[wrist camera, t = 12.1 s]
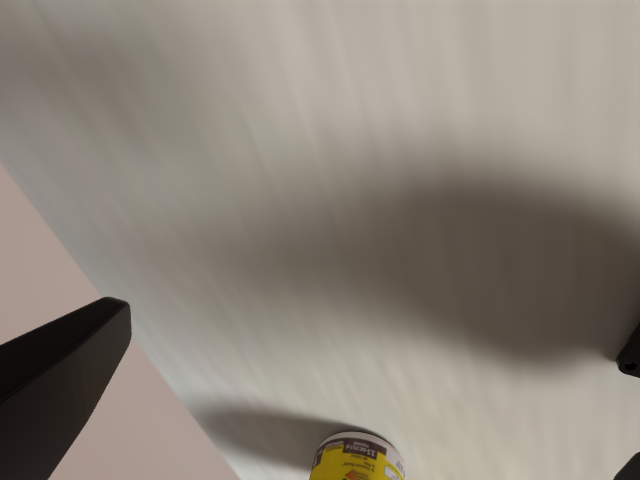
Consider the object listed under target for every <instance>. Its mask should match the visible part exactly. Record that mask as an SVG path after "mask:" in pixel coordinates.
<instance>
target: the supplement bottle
mask: <svg viewBox="0 0 640 480" xmlns="http://www.w3.org/2000/svg"><path fill="white" fill-rule="evenodd" d="M405 479H406V469H405V464H404V461H403V459H402V457H401V456H400V454H399V453H398V452H397V450H396V449H395V448H394V447H392V446H391V445H390V444H389V443H387V442H386V441H384V440H382V439H380V438H378V437H376V436H373V435H370V434H366V433H361V432H342V433H338V434H335V435H332V436H330V437H328V438H327V439H326V440H324V441H323V442H322V443H321V445H320V446H319V447H318V449H317V452H316V455H315V458H314V463H313V467H312V470H311V474H310V478H309V480H405Z"/></svg>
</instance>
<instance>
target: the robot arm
mask: <svg viewBox="0 0 640 480" xmlns="http://www.w3.org/2000/svg"><path fill="white" fill-rule="evenodd" d="M131 334H132V332H131V312H130V305H129V304H128V302H126V301H123V300H120V299H116V298H113V297H103V298H101V299H99V300H97V301H95V302H92V303H90V304H88V305H86V306H84V307H81V308H79V309H78V310H75V311H73V312H71V313H69V314H66V315H64V316H62V317H60V318H58V319H56V320H54V321H51V322H49V323H47V324H45V325H43V326H41V327H38V328H36V329H34V330H32V331H30V332H28V333H26V334H23V335H21V336H19V337H17V338H15V339H12V340H10V341H8V342H6V343H4V344H2V345H0V480H48V478H49V477H50V476H51V474H52V473H53V471H54V470H55V468H56V467H57V465H58V464H59V462H60V461H61V459H62V458H63V457H64V455H65V454H66V452H67V451H68V449H69V448H70V446H71V445H72V444H73V442H74V441H75V439H76V438H77V436H78V435H79V433H80V431H81V430H82V429H83V427H84V426H85V424H86V423H87V421H88V419H89V418H90V416H91V414H92V412H93V411H94V409H95V407H96V405H97V403H98V402H99V400H100V398H101V396H102V394H103V392H104V391H105V388H106V387H107V385H108V383H109V381H110V379H111V378H112V376H113V374H114V372H115V370H116V368H117V367H118V365H119V363H120V361H121V359H122V357H123V355H124V354H125V352H126V350H127V348H128V346H129V343H130V340H131ZM629 362H633V363H631V364H627V363H629ZM616 363H617V366H618V368H619V370H620V371H621V372H622V373H624V374H627V375H631V376H635V377H638V378H640V324H639V325H638V327H637V328H636V329H635V331H634V332H633V333H632V335H631V336H630V337H629V342H628V343H627V344H626V346H625V347H624V348H623V350H622V351H621V352H620V354H619V355H618V356H617V358H616ZM613 480H640V452H638V453H636V454H635V455H634V456H633V457H632V458H631V459H630V460H629V461H628V462H627V463H626V465H625V466H624V467H623V468H622V469H621V470H620V471H619V472H618V473H617V474H616V476H615V477H614V479H613Z"/></svg>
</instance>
